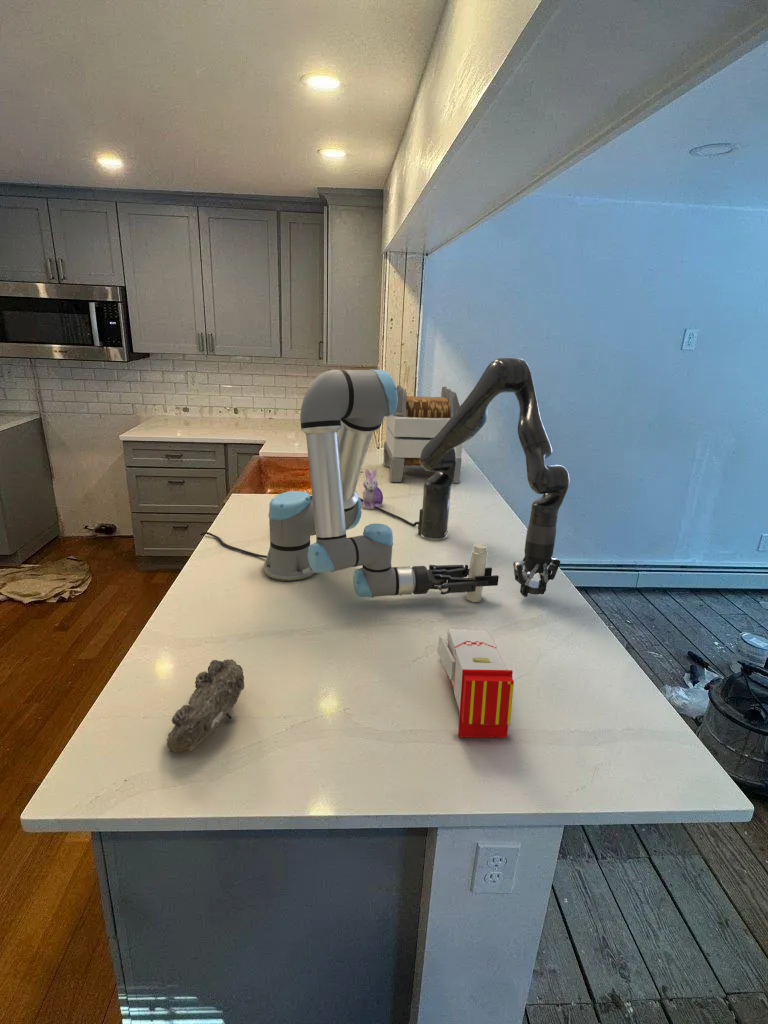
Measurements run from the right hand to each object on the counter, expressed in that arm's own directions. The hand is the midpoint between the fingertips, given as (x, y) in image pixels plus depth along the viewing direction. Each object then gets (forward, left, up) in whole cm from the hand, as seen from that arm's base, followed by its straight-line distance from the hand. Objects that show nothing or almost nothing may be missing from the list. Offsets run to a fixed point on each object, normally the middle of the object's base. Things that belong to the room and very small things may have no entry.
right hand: (532, 594), depth 158 cm
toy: (+5, -48, -1) cm, 48 cm away
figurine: (-80, +33, -1) cm, 86 cm away
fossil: (-30, -86, -1) cm, 91 cm away
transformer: (-92, +87, -1) cm, 126 cm away
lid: (0, 0, +3) cm, 3 cm away
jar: (-13, -11, -1) cm, 17 cm away
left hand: (-9, -7, +5) cm, 12 cm away
